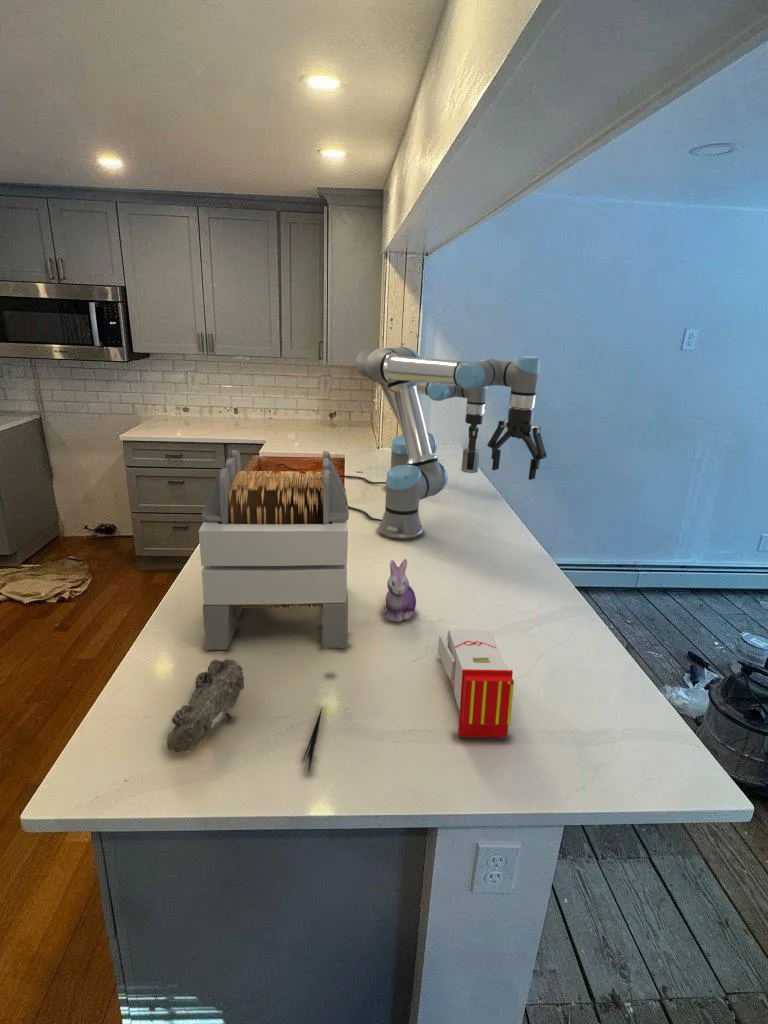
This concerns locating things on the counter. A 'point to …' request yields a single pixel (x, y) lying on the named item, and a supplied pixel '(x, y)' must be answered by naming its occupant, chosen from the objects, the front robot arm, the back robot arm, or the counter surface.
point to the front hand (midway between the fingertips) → (513, 474)
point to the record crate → (274, 548)
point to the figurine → (399, 594)
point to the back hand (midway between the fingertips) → (469, 467)
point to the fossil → (206, 705)
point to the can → (465, 458)
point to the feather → (313, 740)
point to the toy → (478, 682)
